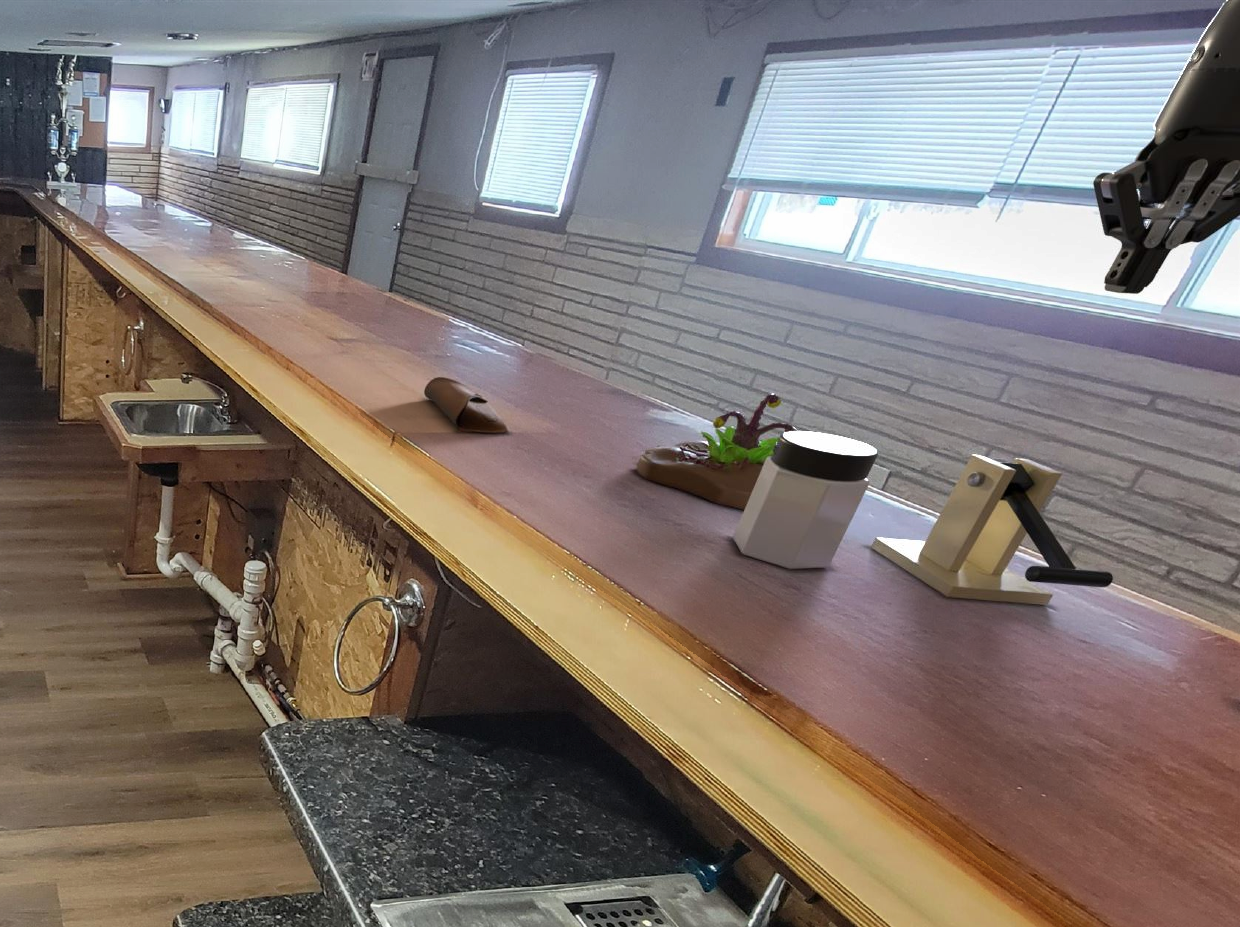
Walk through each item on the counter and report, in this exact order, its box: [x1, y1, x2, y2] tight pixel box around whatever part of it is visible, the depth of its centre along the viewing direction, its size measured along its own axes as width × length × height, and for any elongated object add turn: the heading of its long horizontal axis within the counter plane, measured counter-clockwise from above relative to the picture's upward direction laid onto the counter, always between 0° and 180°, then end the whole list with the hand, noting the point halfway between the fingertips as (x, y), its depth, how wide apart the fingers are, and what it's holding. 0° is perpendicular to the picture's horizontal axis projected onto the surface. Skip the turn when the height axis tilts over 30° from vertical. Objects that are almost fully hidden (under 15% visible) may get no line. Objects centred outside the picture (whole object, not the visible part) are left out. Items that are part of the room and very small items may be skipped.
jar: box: [732, 430, 879, 570], centre depth 91 cm, size 9×8×12 cm
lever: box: [997, 461, 1114, 588], centre depth 83 cm, size 14×6×2 cm, turn 174°
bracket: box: [870, 454, 1063, 606], centre depth 88 cm, size 12×9×12 cm
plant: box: [636, 393, 798, 511], centre depth 111 cm, size 20×20×11 cm
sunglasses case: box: [423, 376, 509, 434], centre depth 136 cm, size 18×7×7 cm
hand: (1121, 292), depth 81 cm, fingers closed
